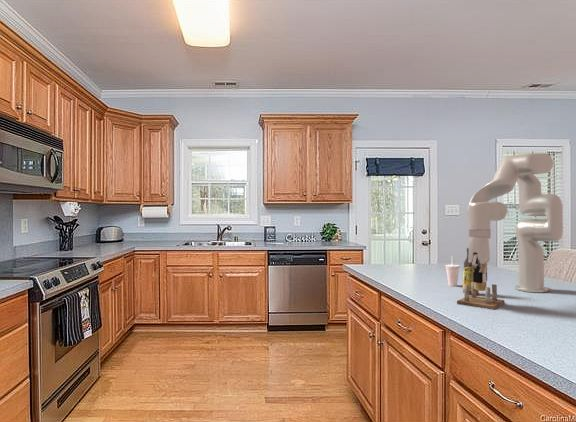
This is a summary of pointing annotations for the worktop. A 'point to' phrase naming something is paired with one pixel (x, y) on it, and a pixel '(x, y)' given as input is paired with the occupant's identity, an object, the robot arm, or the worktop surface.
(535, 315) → the worktop surface
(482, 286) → the sprinkles bottle
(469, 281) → the sauce bottle
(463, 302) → the pin tray
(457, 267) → the smoothie
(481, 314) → the worktop surface
